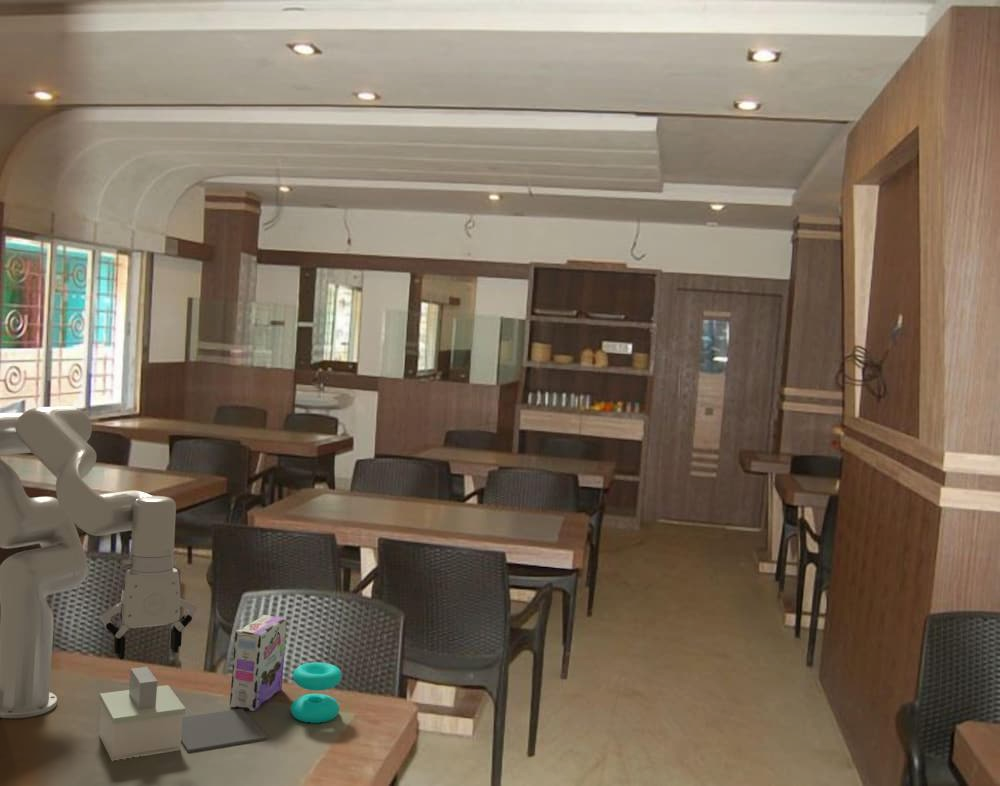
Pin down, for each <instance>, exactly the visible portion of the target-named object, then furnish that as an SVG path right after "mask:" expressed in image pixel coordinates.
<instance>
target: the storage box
mask: <svg viewBox="0 0 1000 786" xmlns="http://www.w3.org/2000/svg"><path fill="white" fill-rule="evenodd" d="M100 702H101V701H100ZM99 715H100V716H99V718H100V719H99V731H98V733H99V734H98V736H99V738H100V740H101V742H102V743H103V746H104V748H105V750H106V752H107V754H108V757H109V758H110V760H111V762H115V761H114V760H117V761H120V760H119V759H123V760H127V759H126V758H129V759H133V758H132V757H135V758H140V757H139V756H141V757H147V756H153V755H159V754H166V753H172V752H177V751H181V746H182V743H181V734H182V719H183V717H184V716H183V715H184V714H179V715H172V716H165V717H158V718H151V719H144V720H137V721H130V722H123V723H116V724H113V723H112V721H111V719H110V717H109V715H108V714H107V712H106V710H105V708H104V706H103V704H102V702H101V703H100V714H99ZM130 757H131V758H130Z"/></svg>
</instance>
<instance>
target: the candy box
mask: <svg viewBox="0 0 1000 786" xmlns="http://www.w3.org/2000/svg"><path fill="white" fill-rule="evenodd" d="M287 620H288V618H287V617H283V616H275V615H268V614H263V615H262V616H260V617H259V618H256V619H255V620H254V621H251V622H250V623H248V624H246V625H245V626H243V627H241V628H239V629H237V630H235V636H234V648H233V660H232V671H231V672H232V673H231V685H230V696H229V697H230V698H229V699H230V700H229V707H230V708H234V709H243V710H244V711H245V710H247V711H250V712H251V711H252V712H255V711H257V710H258V709H259V708H260V707H261V706H263V705H264V704H265V703H267V702H268V701H269V700H270V699H271V698H273V697H274V696H275V695H277V693H279V692H280V691H281V690H282V689H283V675H284V665H285V664H284V662H285V650H286V649H285V648H286V635H287V622H288V621H287Z"/></svg>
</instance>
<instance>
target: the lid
mask: <svg viewBox="0 0 1000 786" xmlns="http://www.w3.org/2000/svg"><path fill="white" fill-rule="evenodd" d="M99 701H100V702H102V704H103V706H104V708H105V710H106V712H107V714H108V715H109V717H110V719H111V721H112V723H113V724H116V723H123V722H130V721H137V720H144V719H151V718H158V717H165V716H172V715H179V714H183V715H185V714H186V707H185V706H184V704H183V703H182V702H181V701H180V699H179V698H178V696H177V694H175V692H174V691H173V690H172V688H171V686H170V685H168V684H167V685H158V680H157V678H156V677H155V675H154V674H153V673H152V671H151V670H150V669H149V666H142V667H135V668H134V667H133V668H130V677H129V689H127V690H126V689H124V690H118V691H111V692H110V691H109V692H101V693H99Z"/></svg>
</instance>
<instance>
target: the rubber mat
mask: <svg viewBox="0 0 1000 786" xmlns="http://www.w3.org/2000/svg"><path fill="white" fill-rule="evenodd" d="M267 738H268V737H267V735H266V734H265V733H264V732H263V731H262V730H261V729H260V727H259V726H258V725H257V724H256V723H255V722H254V720H252V718H251V717H250V716H249V715H248V713H247V712H246V711H245V709H240V708H235V709H231V710H224V711H216V712H209V713H203V714H196V715H195V714H194V715H190V716H183V719H182V734H181V745H183V748H184V749H185V750H186V752H187V753H193V752H198V751H203V750H211V749H216V748H222V747H223V748H224V747H229V746H235V745H241V744H248V743H254V742H259V741H264V740H267Z"/></svg>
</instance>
